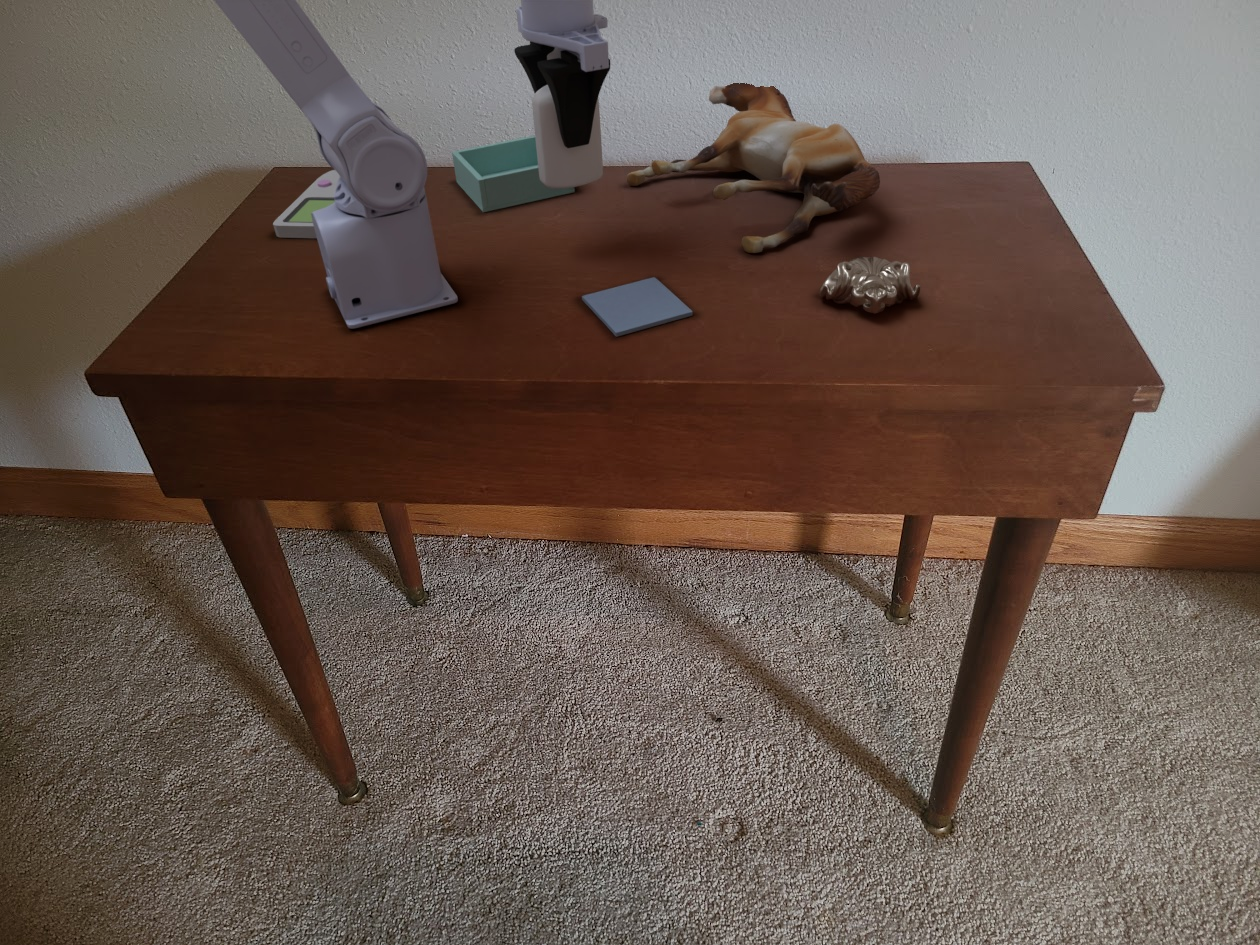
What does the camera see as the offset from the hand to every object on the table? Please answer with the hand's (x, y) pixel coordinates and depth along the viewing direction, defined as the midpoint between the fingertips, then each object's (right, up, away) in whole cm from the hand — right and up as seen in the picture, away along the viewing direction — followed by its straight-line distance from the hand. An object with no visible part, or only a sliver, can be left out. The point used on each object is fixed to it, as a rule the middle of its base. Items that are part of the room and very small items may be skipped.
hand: (568, 138), depth 79 cm
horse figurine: (+10, -1, +7) cm, 12 cm away
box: (-7, +2, +19) cm, 20 cm away
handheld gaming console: (-24, -1, +16) cm, 29 cm away
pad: (+6, -15, -2) cm, 16 cm away
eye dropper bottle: (0, -3, +3) cm, 4 cm away
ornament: (+25, -15, -3) cm, 30 cm away
